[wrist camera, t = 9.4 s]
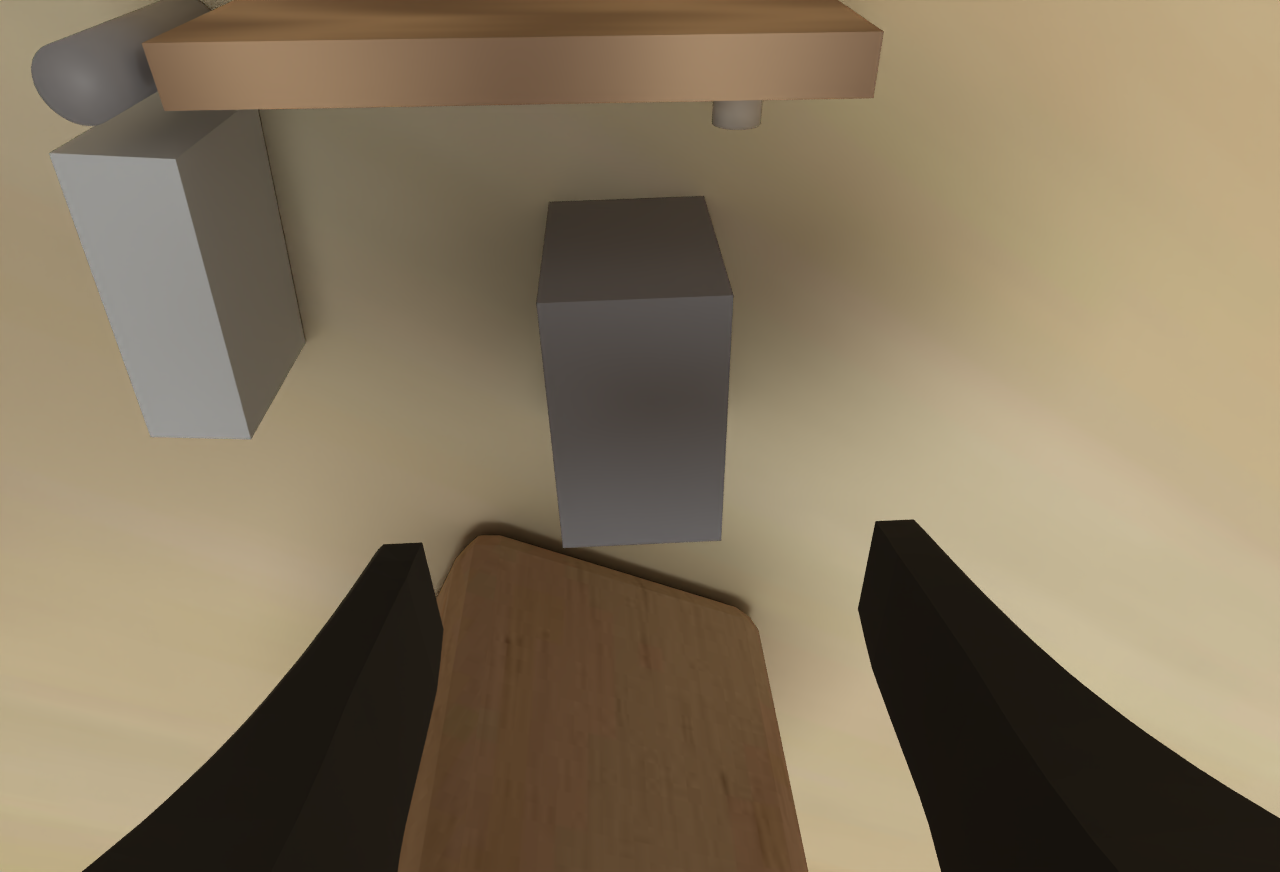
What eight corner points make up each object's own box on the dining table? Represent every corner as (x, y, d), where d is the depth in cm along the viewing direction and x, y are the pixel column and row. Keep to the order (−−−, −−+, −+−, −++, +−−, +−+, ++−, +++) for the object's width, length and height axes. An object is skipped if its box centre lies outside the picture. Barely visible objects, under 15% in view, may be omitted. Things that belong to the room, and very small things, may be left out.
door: (259, 98, 17) (181, 160, 14) (234, -1, 16) (141, 43, 13) (814, 88, 17) (865, 147, 14) (826, -9, 16) (883, 32, 13)
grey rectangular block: (698, 411, 22) (720, 540, 18) (568, 417, 22) (562, 547, 18) (703, 195, 19) (733, 295, 15) (549, 200, 18) (536, 303, 14)
